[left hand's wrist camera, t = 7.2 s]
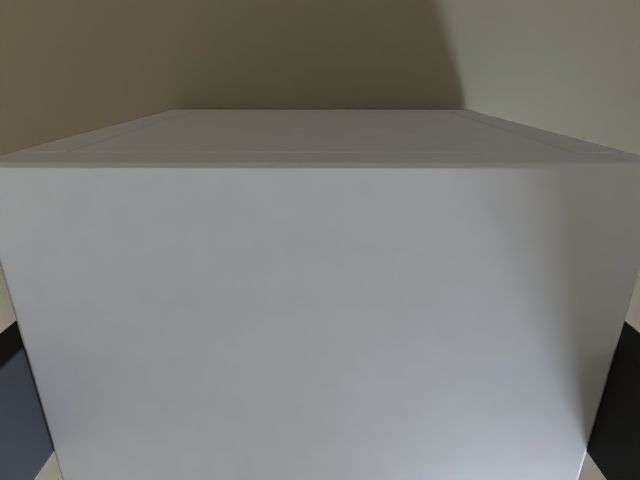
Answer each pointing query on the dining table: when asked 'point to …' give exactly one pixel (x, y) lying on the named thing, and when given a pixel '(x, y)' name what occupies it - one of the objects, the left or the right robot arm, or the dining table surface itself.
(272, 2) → the dining table surface
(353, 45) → the dining table surface
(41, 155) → the white rectangular block
